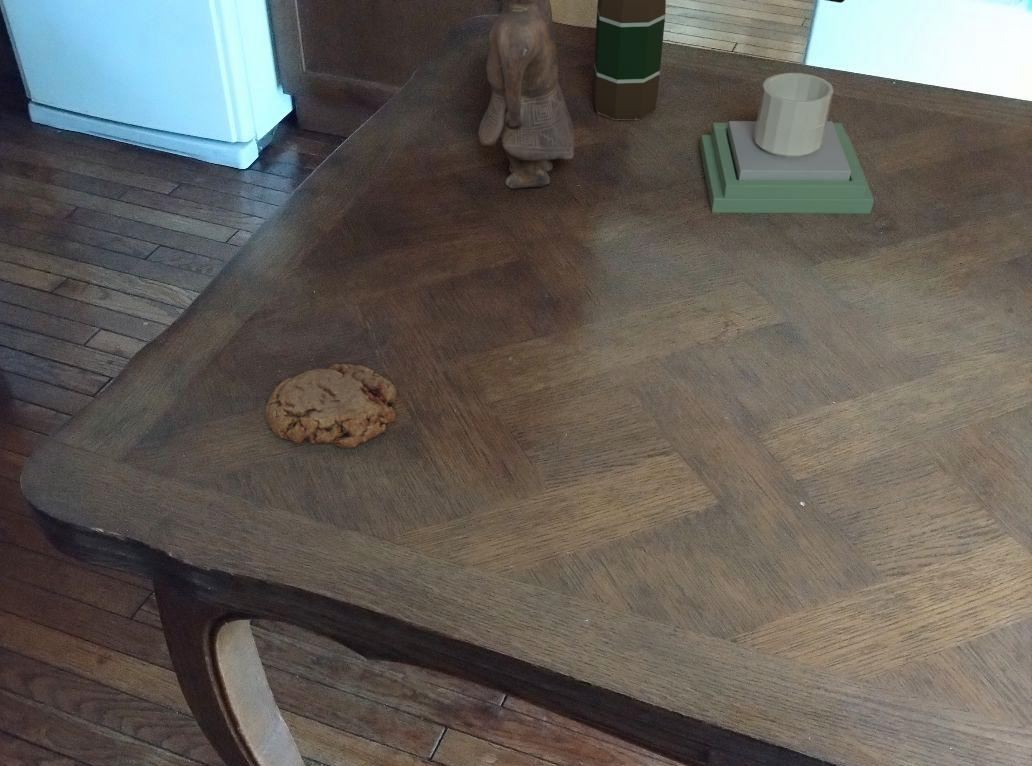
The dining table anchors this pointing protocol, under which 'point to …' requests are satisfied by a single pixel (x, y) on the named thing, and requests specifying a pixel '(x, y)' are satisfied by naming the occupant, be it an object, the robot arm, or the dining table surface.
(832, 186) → the scale
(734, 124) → the pan
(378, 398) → the cookie
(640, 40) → the beer bottle
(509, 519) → the dining table surface
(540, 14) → the clay figurine
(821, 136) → the cup
